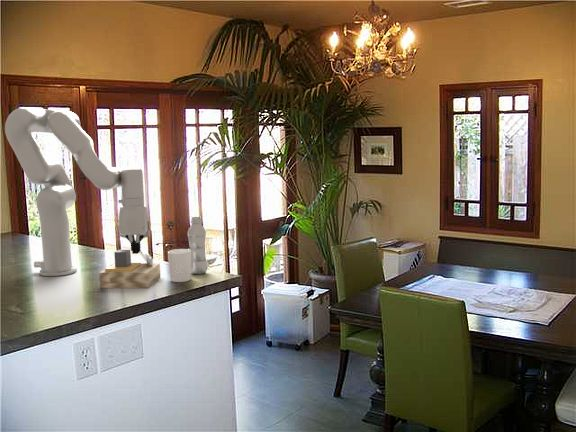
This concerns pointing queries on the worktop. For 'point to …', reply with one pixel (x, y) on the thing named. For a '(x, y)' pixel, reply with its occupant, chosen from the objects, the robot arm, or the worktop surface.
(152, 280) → the socket block
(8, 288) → the worktop surface
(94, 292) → the worktop surface
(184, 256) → the white cup
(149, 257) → the silver rod
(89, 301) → the worktop surface
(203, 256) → the plastic bottle
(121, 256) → the plug
